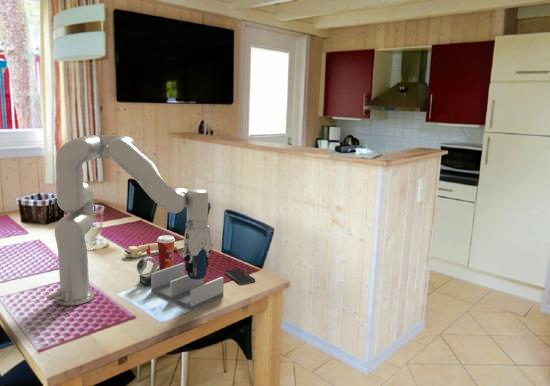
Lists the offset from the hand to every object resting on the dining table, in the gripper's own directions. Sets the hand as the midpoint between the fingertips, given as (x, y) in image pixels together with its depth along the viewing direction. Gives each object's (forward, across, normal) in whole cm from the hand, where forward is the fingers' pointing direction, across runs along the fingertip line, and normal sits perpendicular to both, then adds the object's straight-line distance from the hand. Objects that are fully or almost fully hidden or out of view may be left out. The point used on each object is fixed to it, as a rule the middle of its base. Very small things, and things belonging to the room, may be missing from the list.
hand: (196, 268), depth 163 cm
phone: (+12, +26, +1) cm, 29 cm away
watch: (+12, -4, +24) cm, 27 cm away
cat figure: (+12, +19, +52) cm, 57 cm away
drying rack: (+12, 0, +5) cm, 13 cm away
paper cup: (+12, +12, +32) cm, 37 cm away
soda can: (+3, 0, 0) cm, 3 cm away
